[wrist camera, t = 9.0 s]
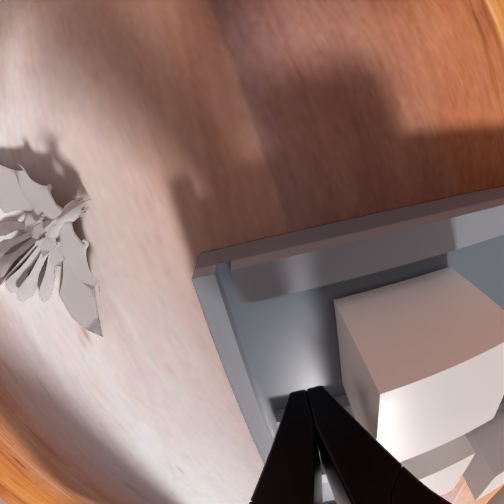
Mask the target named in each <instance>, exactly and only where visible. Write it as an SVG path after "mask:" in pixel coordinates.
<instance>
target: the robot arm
mask: <svg viewBox="0 0 504 504" xmlns="http://www.w3.org/2000/svg"><path fill="white" fill-rule="evenodd" d="M319 454H320V455H319ZM320 458H321V461H320ZM321 462H322V465H323V468H324V471H325V474H326V477H327V479H328V482H329V485H330V487H331V490H332V493H333V496H334V498H335V501H336V504H451V503H450V502H448V501H447V500H445V499H444V498H442V497H441V496H439V495H438V494H436V493H435V492H434V491H432V490H431V489H429V488H428V487H427V486H426V485H424V484H423V483H422V482H421V481H420V480H419V479H417V478H416V477H415V476H414V475H413V474H412V473H411V472H410V471H409V470H408V469H406V468H405V467H404V466H402V464H401V463H400V462H399V461H398V460H397V459H396V458H395V457H394V456H393V455H391V454H390V453H389V452H388V451H387V450H386V449H385V448H384V447H383V446H382V445H381V444H380V443H379V442H378V441H377V440H376V439H375V438H374V437H373V436H372V435H371V434H370V433H369V432H368V431H367V430H366V429H365V428H364V427H363V426H362V425H361V424H360V423H359V422H358V421H357V420H356V419H355V418H354V417H353V416H352V415H351V414H350V413H349V412H348V411H347V410H346V409H345V408H344V407H343V406H342V405H341V404H340V403H339V402H338V401H337V400H336V399H335V398H334V397H333V396H332V395H331V394H330V393H329V392H328V391H327V390H326V389H325V388H324V387H323V386H316V387H312V388H308V389H307V392H306V390H299V391H295V392H291V393H290V395H289V397H288V400H287V403H286V406H285V409H284V412H283V415H282V418H281V421H280V424H279V427H278V429H277V432H276V435H275V438H274V441H273V443H272V446H271V449H270V452H269V454H268V457H267V460H266V462H265V465H264V468H263V470H262V473H261V475H260V478H259V481H258V483H257V486H256V488H255V491H254V493H253V496H252V498H251V501H252V502H250V503H249V504H323V491H322V470H321Z"/></svg>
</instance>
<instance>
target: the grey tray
mask: <svg viewBox="0 0 504 504" xmlns="http://www.w3.org/2000/svg"><path fill="white" fill-rule="evenodd" d="M447 267H451V268H452V269H454V270H455V271H456V272H458V273H459V274H460V275H461V276H463V277H464V278H465V279H467V280H468V281H469V282H470V283H472V284H473V285H474V286H475V287H477V288H478V289H479V290H480V291H482V292H483V293H484V294H485V295H487V296H488V297H489V298H490V299H491V300H493V301H494V302H495V303H496V304H497V305H499V306H500V307H501V308H502V309H503V310H504V186H501V187H496V188H492V189H487V190H482V191H477V192H472V193H468V194H463V195H458V196H454V197H449V198H444V199H440V200H435V201H430V202H426V203H421V204H416V205H412V206H407V207H403V208H398V209H393V210H389V211H384V212H380V213H375V214H371V215H366V216H362V217H357V218H353V219H348V220H344V221H339V222H335V223H330V224H326V225H321V226H317V227H313V228H308V229H304V230H299V231H295V232H291V233H286V234H282V235H277V236H273V237H269V238H264V239H260V240H256V241H251V242H247V243H243V244H238V245H234V246H230V247H225V248H221V249H217V250H213V251H208V252H204V253H200V256H199V259H198V262H197V265H196V268H195V271H194V273H193V276H192V281H193V284H194V287H195V290H196V293H197V296H198V299H199V302H200V304H201V307H202V310H203V313H204V316H205V319H206V321H207V324H208V327H209V330H210V332H211V335H212V338H213V340H214V343H215V346H216V348H217V351H218V354H219V356H220V359H221V362H222V364H223V367H224V369H225V372H226V374H227V377H228V379H229V382H230V384H231V387H232V389H233V392H234V394H235V397H236V399H237V402H238V404H239V407H240V409H241V411H242V414H243V416H244V418H245V421H246V423H247V426H248V428H249V430H250V433H251V435H252V437H253V439H254V442H255V444H256V446H257V448H258V451H259V453H260V455H261V457H262V460H263V462H264V464H265V462H266V460H267V457H268V454H269V452H270V449H271V446H272V443H273V441H274V438H275V435H276V432H277V429H278V427H279V424H280V421H281V418H282V415H283V412H284V409H285V406H286V403H287V400H288V397H289V395H290V393H291V392H295V391H299V390H306V392H307V389H308V388H312V387H316V386H323V387H324V388H325V389H326V390H327V391H328V392H329V393H330V394H331V395H332V396H333V397H334V398H335V399H336V400H337V401H338V402H339V403H340V404H341V405H342V406H343V407H344V408H345V409H346V410H347V411H348V412H349V413H350V414H351V415H352V416H353V417H354V414H353V411H352V408H351V406H350V403H349V400H348V397H347V394H346V392H345V389H344V386H343V383H342V376H341V364H340V353H339V343H338V334H337V325H336V316H335V308H334V300H335V299H339V298H343V297H347V296H351V295H354V294H358V293H362V292H366V291H369V290H373V289H377V288H380V287H384V286H387V285H391V284H394V283H398V282H401V281H405V280H408V279H412V278H415V277H418V276H422V275H425V274H428V273H431V272H435V271H438V270H441V269H444V268H447ZM503 411H504V395H503V398H502V400H501V403H500V405H499V407H498V409H497V412H496V414H495V416H496V415H498V414H499V413H501V412H503ZM354 418H355V417H354ZM319 455H320V454H319ZM320 461H321V458H320ZM321 470H322V491H323V504H336V501H335V498H334V496H333V493H332V490H331V487H330V485H329V482H328V479H327V477H326V474H325V471H324V468H323V465H322V462H321Z"/></svg>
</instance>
